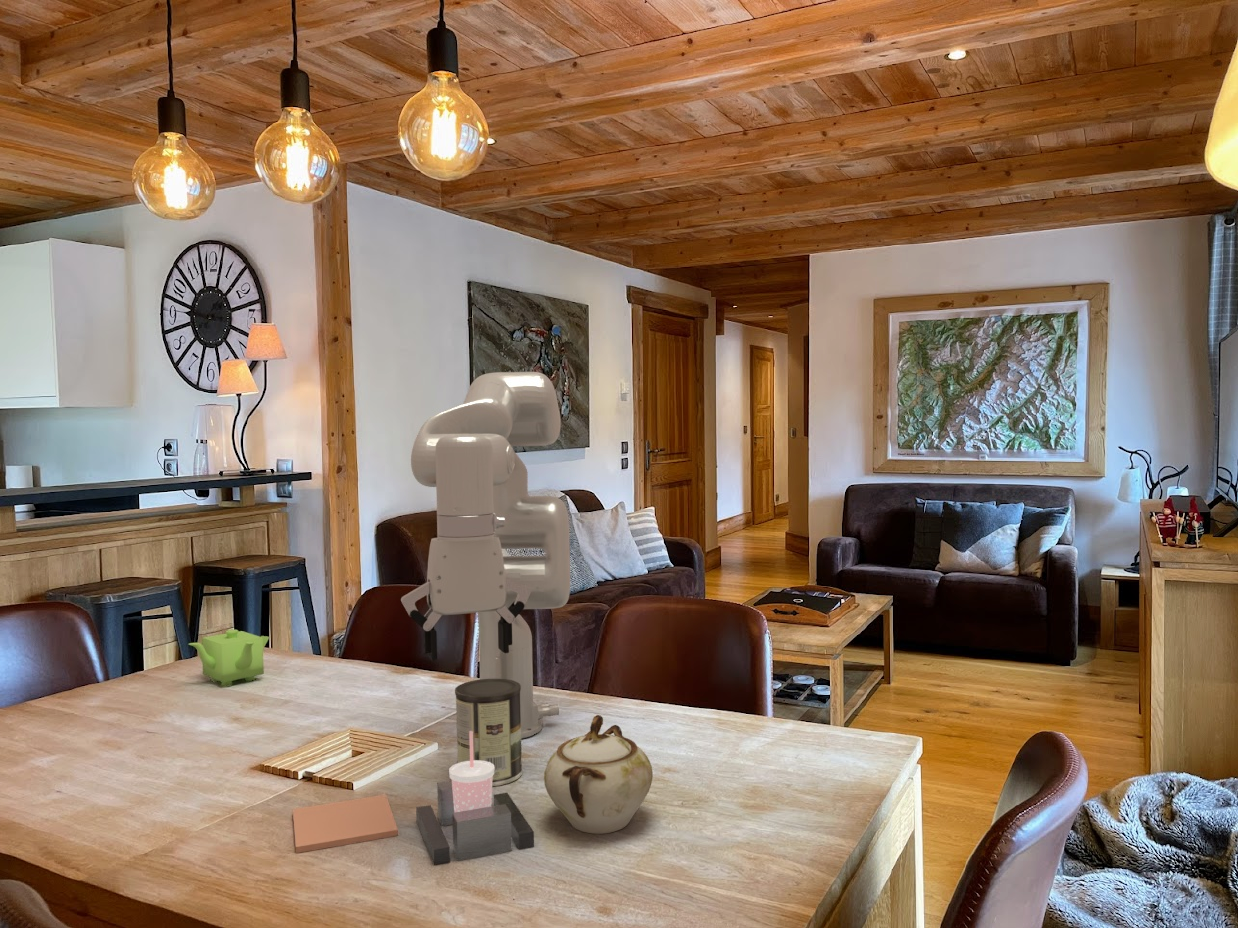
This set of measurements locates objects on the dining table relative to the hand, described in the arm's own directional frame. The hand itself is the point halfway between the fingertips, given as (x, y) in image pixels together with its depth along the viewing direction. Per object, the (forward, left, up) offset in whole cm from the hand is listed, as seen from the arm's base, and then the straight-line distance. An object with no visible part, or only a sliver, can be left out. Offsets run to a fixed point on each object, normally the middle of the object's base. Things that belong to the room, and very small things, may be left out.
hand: (468, 654), depth 122 cm
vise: (0, 0, -24) cm, 24 cm away
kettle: (+33, -98, -25) cm, 106 cm away
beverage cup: (0, 0, -25) cm, 25 cm away
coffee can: (-7, -20, -25) cm, 32 cm away
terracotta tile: (+16, -10, -24) cm, 31 cm away
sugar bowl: (-17, +3, -25) cm, 30 cm away
